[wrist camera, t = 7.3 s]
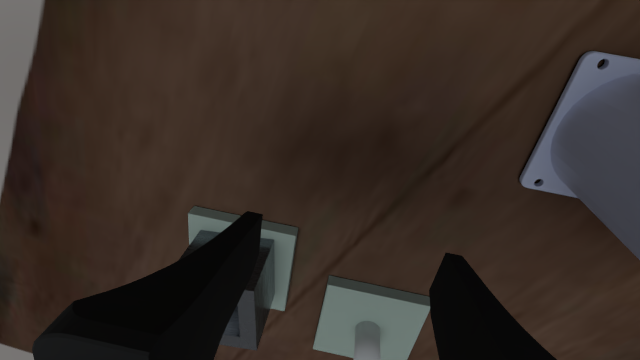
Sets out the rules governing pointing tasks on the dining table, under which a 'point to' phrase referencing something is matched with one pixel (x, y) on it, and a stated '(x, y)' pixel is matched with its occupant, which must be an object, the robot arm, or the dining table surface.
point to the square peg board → (369, 320)
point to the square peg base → (269, 230)
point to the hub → (247, 296)
